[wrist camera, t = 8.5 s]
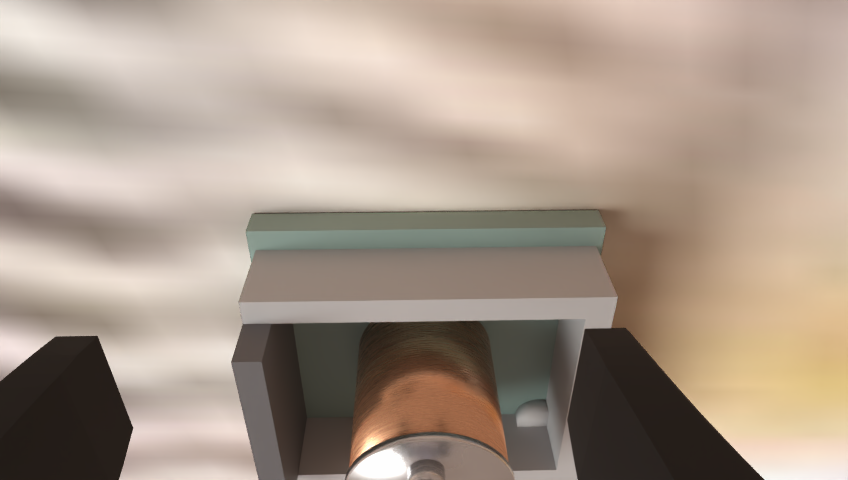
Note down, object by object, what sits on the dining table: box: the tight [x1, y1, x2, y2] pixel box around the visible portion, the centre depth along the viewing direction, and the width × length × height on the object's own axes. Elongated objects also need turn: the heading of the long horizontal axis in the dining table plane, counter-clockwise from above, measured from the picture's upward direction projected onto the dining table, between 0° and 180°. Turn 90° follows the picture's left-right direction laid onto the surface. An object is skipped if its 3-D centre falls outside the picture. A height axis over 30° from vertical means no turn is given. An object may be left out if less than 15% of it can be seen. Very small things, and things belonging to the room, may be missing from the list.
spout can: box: [345, 321, 515, 480], centre depth 20 cm, size 5×5×6 cm
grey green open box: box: [231, 210, 618, 480], centre depth 21 cm, size 10×11×5 cm
